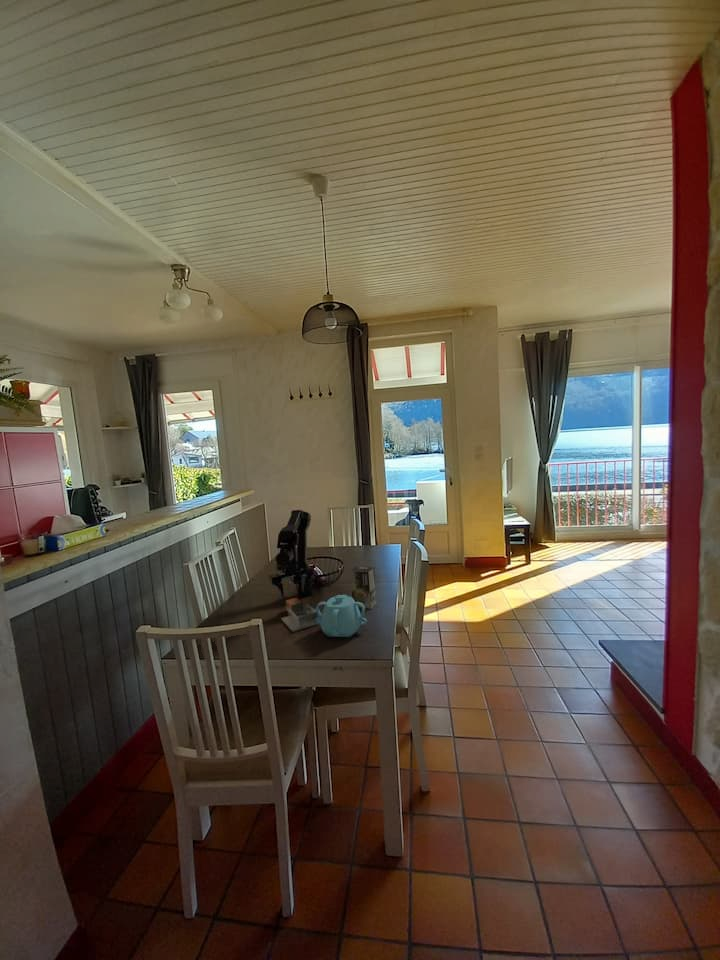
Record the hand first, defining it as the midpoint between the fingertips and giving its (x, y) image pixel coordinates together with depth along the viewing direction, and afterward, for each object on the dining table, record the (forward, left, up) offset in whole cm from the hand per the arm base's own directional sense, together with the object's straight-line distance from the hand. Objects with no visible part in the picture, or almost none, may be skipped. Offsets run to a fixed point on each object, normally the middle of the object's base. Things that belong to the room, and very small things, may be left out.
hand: (293, 594), depth 165 cm
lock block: (0, 0, -8) cm, 8 cm away
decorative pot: (-8, +28, -8) cm, 30 cm away
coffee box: (-27, +13, -8) cm, 31 cm away
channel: (0, +10, -8) cm, 13 cm away
